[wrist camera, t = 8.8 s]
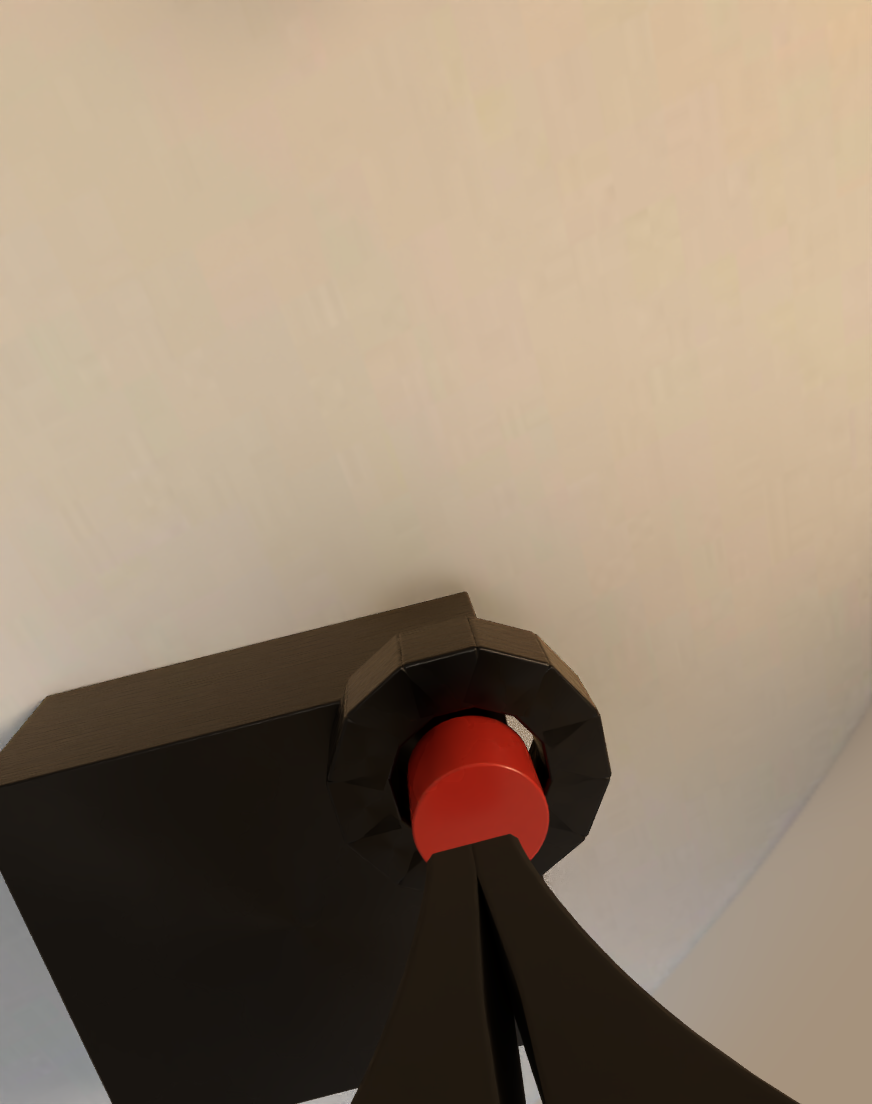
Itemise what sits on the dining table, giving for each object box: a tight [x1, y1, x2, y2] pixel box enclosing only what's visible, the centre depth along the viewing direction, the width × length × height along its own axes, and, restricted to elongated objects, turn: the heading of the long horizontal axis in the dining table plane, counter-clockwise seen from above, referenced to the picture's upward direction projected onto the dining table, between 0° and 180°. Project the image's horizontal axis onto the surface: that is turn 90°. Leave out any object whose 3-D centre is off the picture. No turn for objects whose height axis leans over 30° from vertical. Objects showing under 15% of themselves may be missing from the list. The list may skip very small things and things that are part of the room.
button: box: [407, 715, 549, 862], centre depth 15 cm, size 2×2×2 cm
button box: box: [0, 592, 611, 1104], centre depth 19 cm, size 13×11×6 cm
